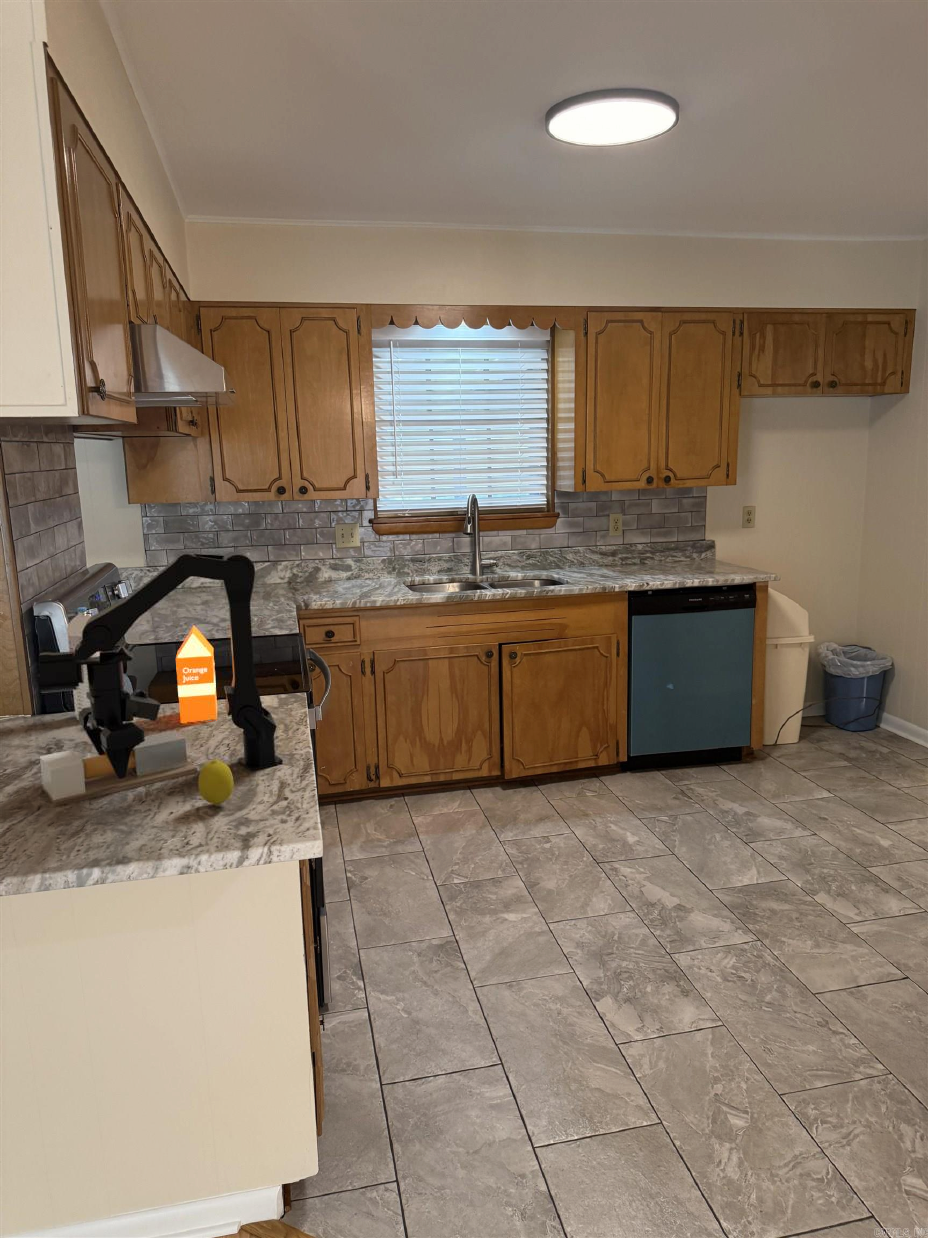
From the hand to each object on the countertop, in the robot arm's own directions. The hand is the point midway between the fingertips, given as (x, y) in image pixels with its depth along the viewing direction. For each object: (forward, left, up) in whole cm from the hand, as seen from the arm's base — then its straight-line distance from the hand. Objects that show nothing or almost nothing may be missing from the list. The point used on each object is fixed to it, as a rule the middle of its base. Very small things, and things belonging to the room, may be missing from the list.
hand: (114, 771), depth 148 cm
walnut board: (0, -1, -2) cm, 2 cm away
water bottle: (+42, -7, -2) cm, 43 cm away
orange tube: (0, -2, 0) cm, 2 cm away
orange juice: (+28, -26, -2) cm, 38 cm away
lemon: (-22, -10, -2) cm, 24 cm away
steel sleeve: (0, -8, -2) cm, 8 cm away
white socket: (0, +8, -2) cm, 9 cm away
